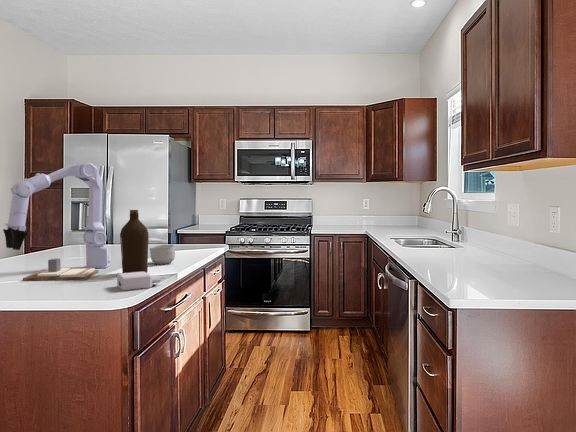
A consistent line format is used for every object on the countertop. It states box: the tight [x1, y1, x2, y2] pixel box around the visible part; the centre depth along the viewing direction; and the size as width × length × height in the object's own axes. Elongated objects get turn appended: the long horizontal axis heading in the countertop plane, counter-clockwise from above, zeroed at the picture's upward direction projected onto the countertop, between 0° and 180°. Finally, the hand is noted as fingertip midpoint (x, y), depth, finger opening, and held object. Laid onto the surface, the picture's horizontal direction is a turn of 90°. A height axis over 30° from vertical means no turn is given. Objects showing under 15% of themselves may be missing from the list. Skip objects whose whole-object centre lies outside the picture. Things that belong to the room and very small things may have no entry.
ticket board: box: [22, 269, 99, 282], centre depth 187 cm, size 22×16×1 cm
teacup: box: [149, 244, 176, 265], centre depth 221 cm, size 14×11×8 cm
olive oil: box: [119, 209, 149, 273], centre depth 193 cm, size 11×11×25 cm
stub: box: [37, 257, 71, 277], centre depth 186 cm, size 7×14×5 cm, turn 6°
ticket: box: [59, 268, 96, 277], centre depth 187 cm, size 9×14×1 cm, turn 6°
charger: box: [116, 272, 166, 291], centre depth 168 cm, size 5×9×15 cm
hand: (12, 248), depth 186 cm, fingers open, 7 cm apart
